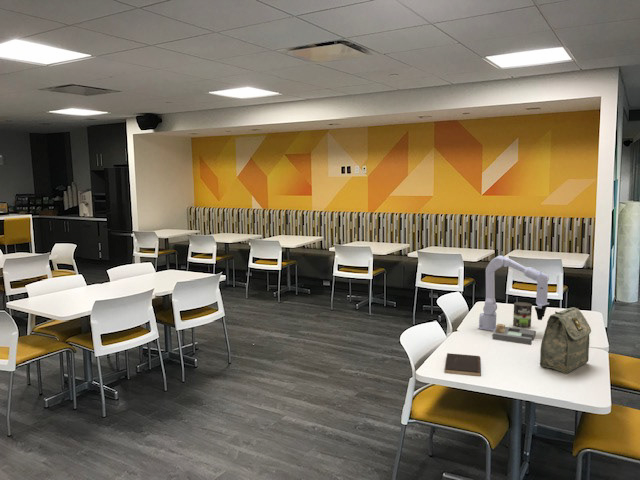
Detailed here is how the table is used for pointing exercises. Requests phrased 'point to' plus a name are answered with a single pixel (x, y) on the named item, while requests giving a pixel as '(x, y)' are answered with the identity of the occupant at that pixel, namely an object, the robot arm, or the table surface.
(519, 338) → the trap board
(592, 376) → the table surface
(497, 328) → the maple block
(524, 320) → the coffee can
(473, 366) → the hardcover book
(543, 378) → the table surface
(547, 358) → the bag
